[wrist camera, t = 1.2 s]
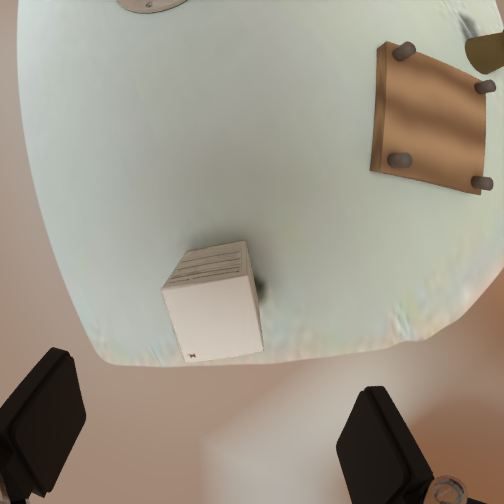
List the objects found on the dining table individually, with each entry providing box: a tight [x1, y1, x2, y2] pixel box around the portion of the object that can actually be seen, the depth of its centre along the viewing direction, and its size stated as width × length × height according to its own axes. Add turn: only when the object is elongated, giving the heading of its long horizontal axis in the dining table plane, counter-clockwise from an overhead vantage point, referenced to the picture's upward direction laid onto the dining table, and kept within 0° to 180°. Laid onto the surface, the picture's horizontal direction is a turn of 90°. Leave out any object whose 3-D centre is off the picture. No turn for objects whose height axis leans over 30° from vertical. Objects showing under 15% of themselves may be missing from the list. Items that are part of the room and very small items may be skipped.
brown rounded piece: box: [465, 30, 504, 74], centre depth 24 cm, size 6×6×11 cm
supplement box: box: [161, 240, 264, 363], centre depth 31 cm, size 7×7×13 cm
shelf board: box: [370, 41, 496, 195], centre depth 30 cm, size 16×16×6 cm
